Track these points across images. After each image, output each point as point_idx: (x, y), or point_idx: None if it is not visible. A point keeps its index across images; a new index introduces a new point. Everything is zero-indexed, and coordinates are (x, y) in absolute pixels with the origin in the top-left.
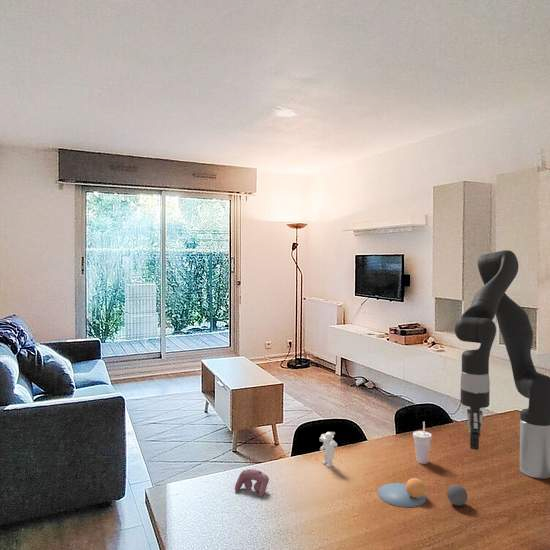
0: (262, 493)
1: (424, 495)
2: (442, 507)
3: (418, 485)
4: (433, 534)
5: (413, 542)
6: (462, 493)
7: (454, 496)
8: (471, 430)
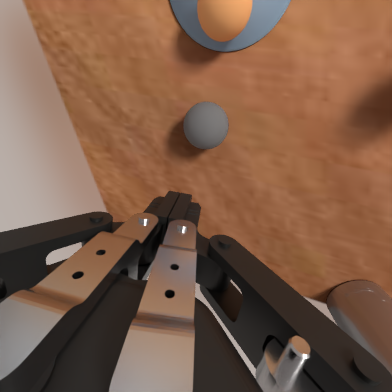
0: None
1: (233, 47)
2: (187, 89)
3: (204, 7)
4: (78, 55)
5: (33, 4)
6: (188, 136)
7: (185, 116)
8: (11, 235)
